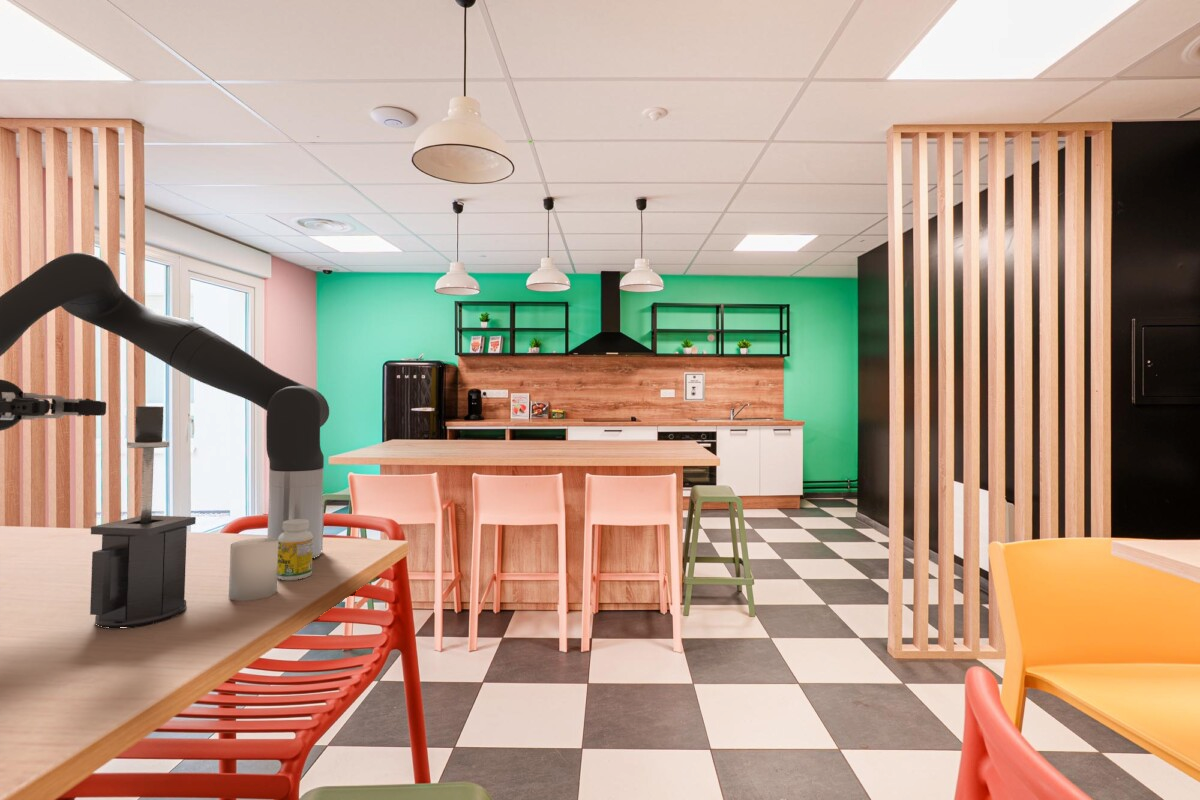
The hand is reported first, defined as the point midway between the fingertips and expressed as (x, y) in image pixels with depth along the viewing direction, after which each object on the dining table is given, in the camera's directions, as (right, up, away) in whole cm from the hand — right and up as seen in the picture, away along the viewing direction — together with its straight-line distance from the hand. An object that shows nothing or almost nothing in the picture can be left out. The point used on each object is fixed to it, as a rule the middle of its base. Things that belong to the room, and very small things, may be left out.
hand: (75, 408), depth 78 cm
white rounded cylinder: (+21, -29, +8) cm, 37 cm away
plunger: (+11, -21, -1) cm, 24 cm away
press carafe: (+11, -29, -2) cm, 31 cm away
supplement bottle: (+22, -30, +17) cm, 41 cm away
